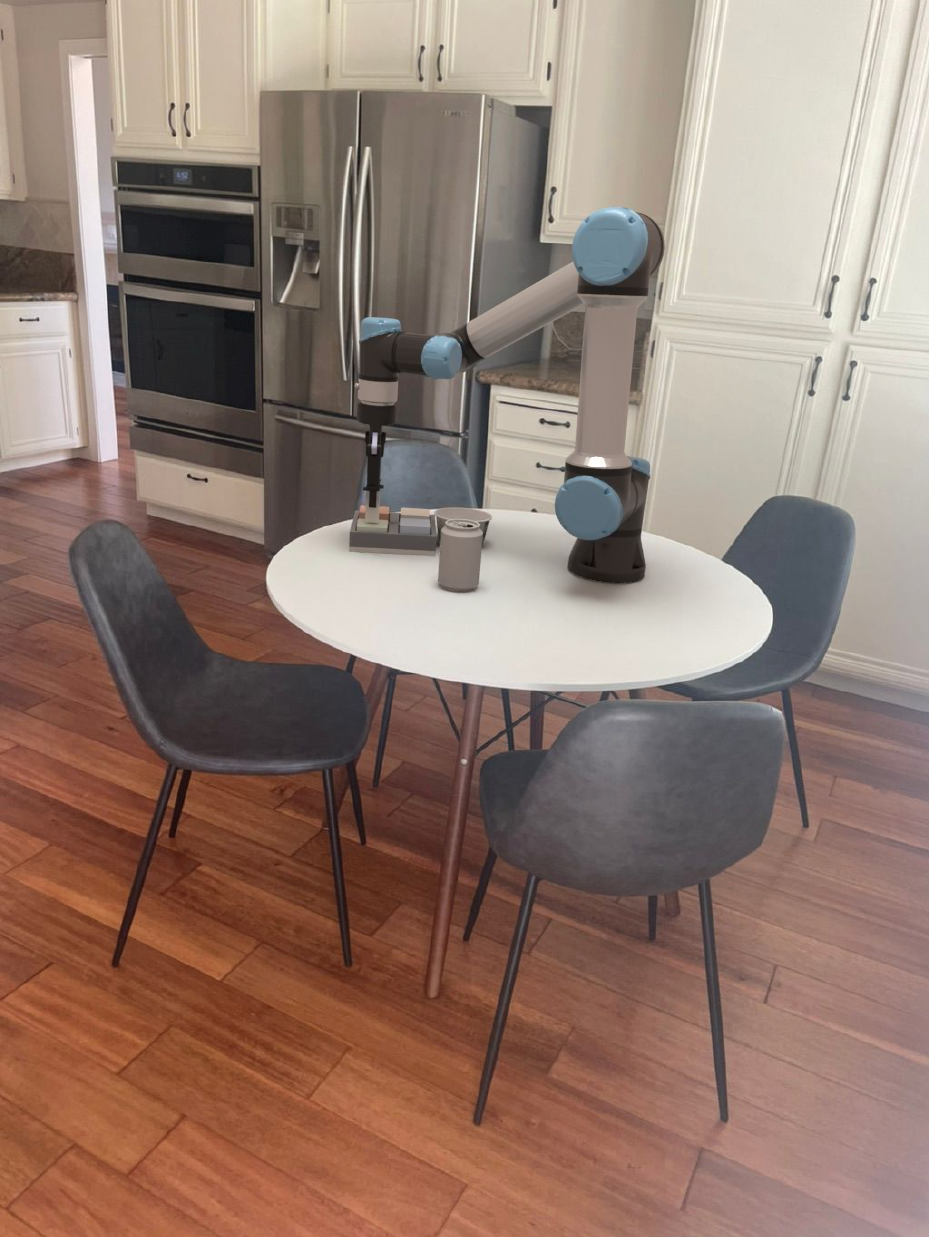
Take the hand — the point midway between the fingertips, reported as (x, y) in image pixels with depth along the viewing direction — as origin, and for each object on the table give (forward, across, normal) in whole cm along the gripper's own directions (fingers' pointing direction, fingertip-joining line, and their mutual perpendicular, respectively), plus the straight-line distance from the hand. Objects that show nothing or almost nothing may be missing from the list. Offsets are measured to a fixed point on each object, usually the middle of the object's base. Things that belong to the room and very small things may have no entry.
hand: (371, 521), depth 188 cm
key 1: (+3, 0, 0) cm, 3 cm away
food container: (+5, -5, +18) cm, 20 cm away
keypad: (+5, -4, +4) cm, 8 cm away
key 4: (+2, -8, +9) cm, 12 cm away
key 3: (+2, 0, +9) cm, 9 cm away
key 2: (+2, -8, 0) cm, 9 cm away
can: (+5, +22, +17) cm, 28 cm away
